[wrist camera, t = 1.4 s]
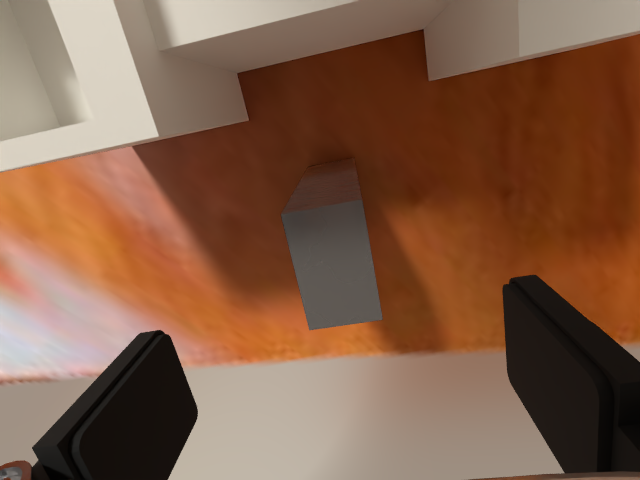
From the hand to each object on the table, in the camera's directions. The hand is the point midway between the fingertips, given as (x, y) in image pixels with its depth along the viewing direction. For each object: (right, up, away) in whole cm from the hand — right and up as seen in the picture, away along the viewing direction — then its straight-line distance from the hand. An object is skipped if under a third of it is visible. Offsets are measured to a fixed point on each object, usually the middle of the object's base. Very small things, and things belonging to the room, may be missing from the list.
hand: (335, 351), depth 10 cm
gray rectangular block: (+1, +6, +14) cm, 15 cm away
